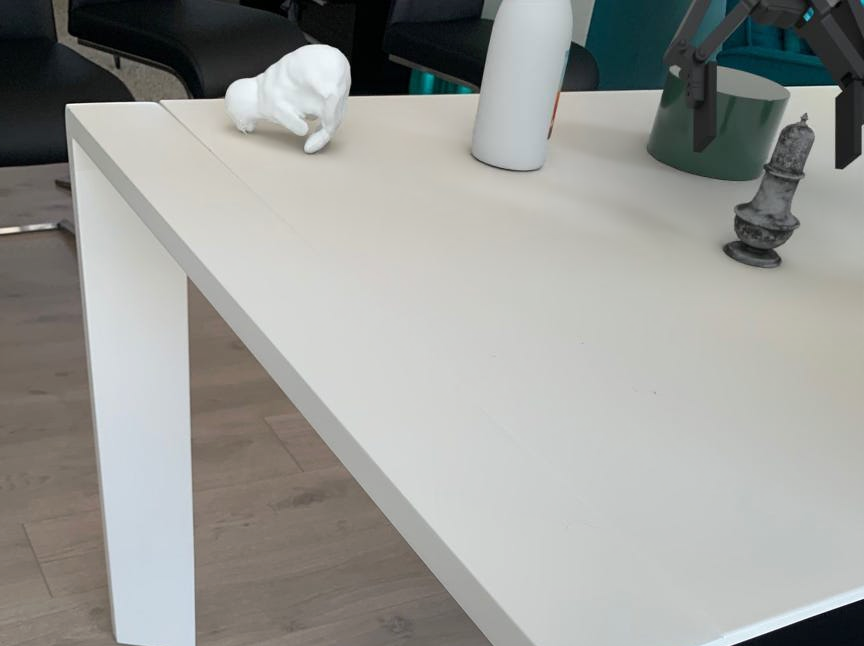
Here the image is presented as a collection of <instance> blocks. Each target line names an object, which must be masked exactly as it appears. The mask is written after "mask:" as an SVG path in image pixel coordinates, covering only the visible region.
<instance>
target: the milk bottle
mask: <svg viewBox="0 0 864 646" xmlns="http://www.w3.org/2000/svg"><path fill="white" fill-rule="evenodd" d="M573 18H574V17H573V9H572V2H571V0H502V1H501V3H500V6H499V7H498V9H497V13H496V15H495V19H494V21H493V25H492V30H491V34H490V39H489V44H488V46H487V47H488V48H487V53H486V58H485V64H484V69H483V75H482V80H481V86H480V91H479V97H478V102H477V106H476V107H477V108H476V113H475V119H474V123H473V129H472V136H471V141H470V142H471V143H470V151H471V154H472V156H473V157H474V158H475V159H477V160H479V161H481V162H482V163H485V164H488V165H491V166H494V167H497V168H502V169H507V170H514V171H533V170H537V169H539V168H542V166H543V164H544V163H545V162H546V161H545V160H546V157H547V153H548V150H549V145H550V141H551V136H552V131H553V127H554V123H555V119H556V115H557V111H558V106H559V102H560V98H561V97H560V96H561V92H562V88H563V83H564V80H565V79H564V78H565V73H566V68H567V64H568V61H569V60H568V59H569V55H570V50H571V45H572V43H571V42H572V37H573V27H574V26H573V25H574V24H573V23H574V19H573Z"/></svg>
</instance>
